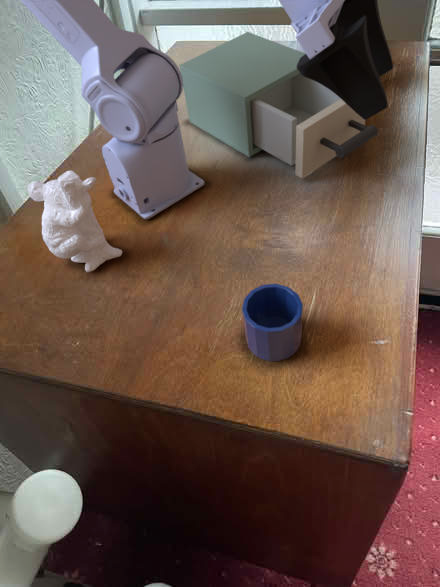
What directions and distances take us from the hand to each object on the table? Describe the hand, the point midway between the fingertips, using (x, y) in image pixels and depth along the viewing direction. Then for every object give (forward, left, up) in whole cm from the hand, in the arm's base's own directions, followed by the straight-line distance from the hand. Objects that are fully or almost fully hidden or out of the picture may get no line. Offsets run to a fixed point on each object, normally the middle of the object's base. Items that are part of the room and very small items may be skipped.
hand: (379, 91), depth 40 cm
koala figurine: (-25, +18, -16) cm, 35 cm away
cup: (-18, -5, -16) cm, 24 cm away
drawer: (+6, +14, -15) cm, 21 cm away
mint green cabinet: (+6, +25, -16) cm, 31 cm away
